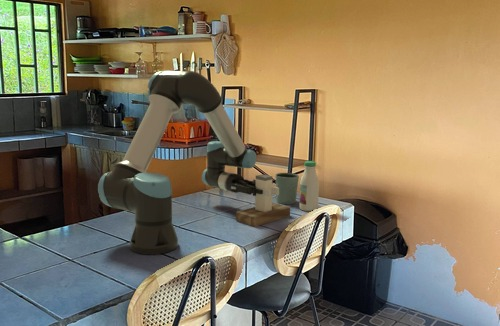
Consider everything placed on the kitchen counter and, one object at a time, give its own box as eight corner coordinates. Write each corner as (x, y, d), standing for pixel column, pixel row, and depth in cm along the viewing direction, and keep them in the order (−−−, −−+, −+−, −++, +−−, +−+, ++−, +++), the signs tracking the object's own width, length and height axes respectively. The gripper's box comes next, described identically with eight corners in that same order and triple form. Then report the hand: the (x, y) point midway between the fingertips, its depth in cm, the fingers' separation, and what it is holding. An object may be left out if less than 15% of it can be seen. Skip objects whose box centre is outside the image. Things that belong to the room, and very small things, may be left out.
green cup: (271, 199, 218) (272, 173, 215) (292, 198, 221) (293, 172, 218) (279, 205, 208) (280, 177, 206) (301, 203, 211) (302, 176, 209)
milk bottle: (317, 206, 207) (319, 160, 203) (318, 212, 199) (320, 163, 195) (299, 206, 207) (300, 159, 204) (299, 211, 200) (300, 163, 196)
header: (236, 220, 186) (236, 212, 186) (271, 210, 200) (271, 202, 200) (254, 226, 179) (255, 217, 179) (290, 215, 193) (290, 207, 193)
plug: (255, 213, 190) (255, 175, 187) (262, 211, 193) (262, 174, 190) (264, 216, 186) (265, 177, 184) (271, 214, 189) (272, 176, 186)
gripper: (246, 187, 207) (288, 198, 191) (216, 194, 195) (258, 206, 179) (246, 170, 205) (289, 179, 189) (216, 176, 193) (258, 186, 177)
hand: (274, 192), depth 184 cm, fingers closed on plug, 4 cm apart
